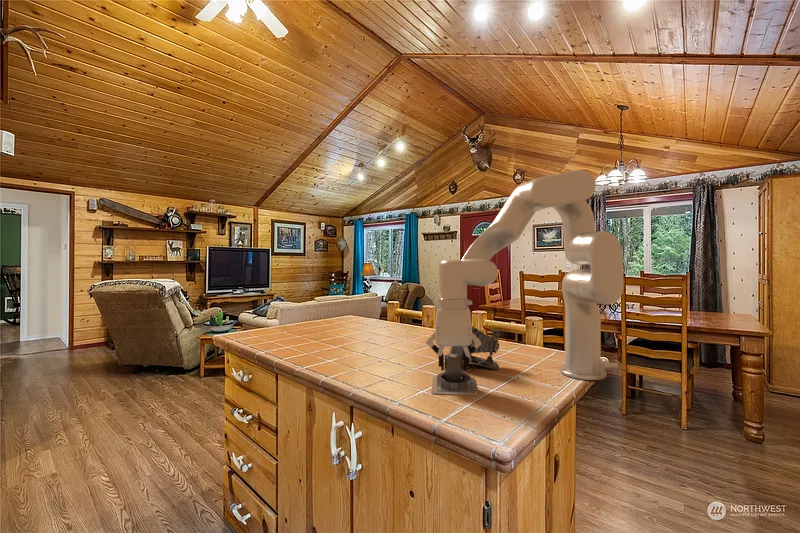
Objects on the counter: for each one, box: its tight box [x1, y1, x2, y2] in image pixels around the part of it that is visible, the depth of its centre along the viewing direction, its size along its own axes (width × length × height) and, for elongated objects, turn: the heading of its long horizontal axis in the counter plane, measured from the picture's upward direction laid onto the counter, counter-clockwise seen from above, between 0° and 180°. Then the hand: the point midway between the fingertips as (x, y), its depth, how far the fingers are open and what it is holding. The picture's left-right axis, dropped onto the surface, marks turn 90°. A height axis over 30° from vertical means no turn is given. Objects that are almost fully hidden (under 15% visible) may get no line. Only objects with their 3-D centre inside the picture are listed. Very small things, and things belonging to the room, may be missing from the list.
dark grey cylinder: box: [444, 353, 464, 381], centre depth 99 cm, size 5×5×6 cm
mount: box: [430, 371, 479, 396], centre depth 99 cm, size 12×12×3 cm
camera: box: [448, 306, 500, 371], centre depth 117 cm, size 11×17×20 cm, turn 79°
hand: (453, 368), depth 99 cm, fingers open, 5 cm apart
